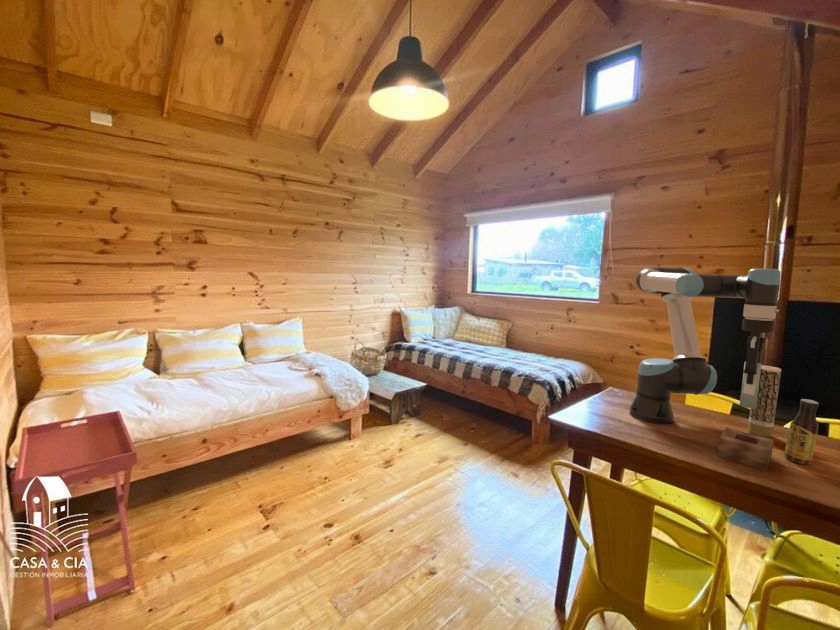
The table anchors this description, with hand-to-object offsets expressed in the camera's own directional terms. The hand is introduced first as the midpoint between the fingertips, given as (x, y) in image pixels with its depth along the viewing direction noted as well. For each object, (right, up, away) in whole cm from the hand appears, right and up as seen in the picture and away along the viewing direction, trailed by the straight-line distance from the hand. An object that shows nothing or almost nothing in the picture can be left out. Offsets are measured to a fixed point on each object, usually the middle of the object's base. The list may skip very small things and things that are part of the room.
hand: (749, 392), depth 122 cm
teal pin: (0, -5, +1) cm, 5 cm away
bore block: (0, -21, +2) cm, 21 cm away
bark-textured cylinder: (+20, -19, +20) cm, 34 cm away
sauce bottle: (+16, -22, 0) cm, 27 cm away
